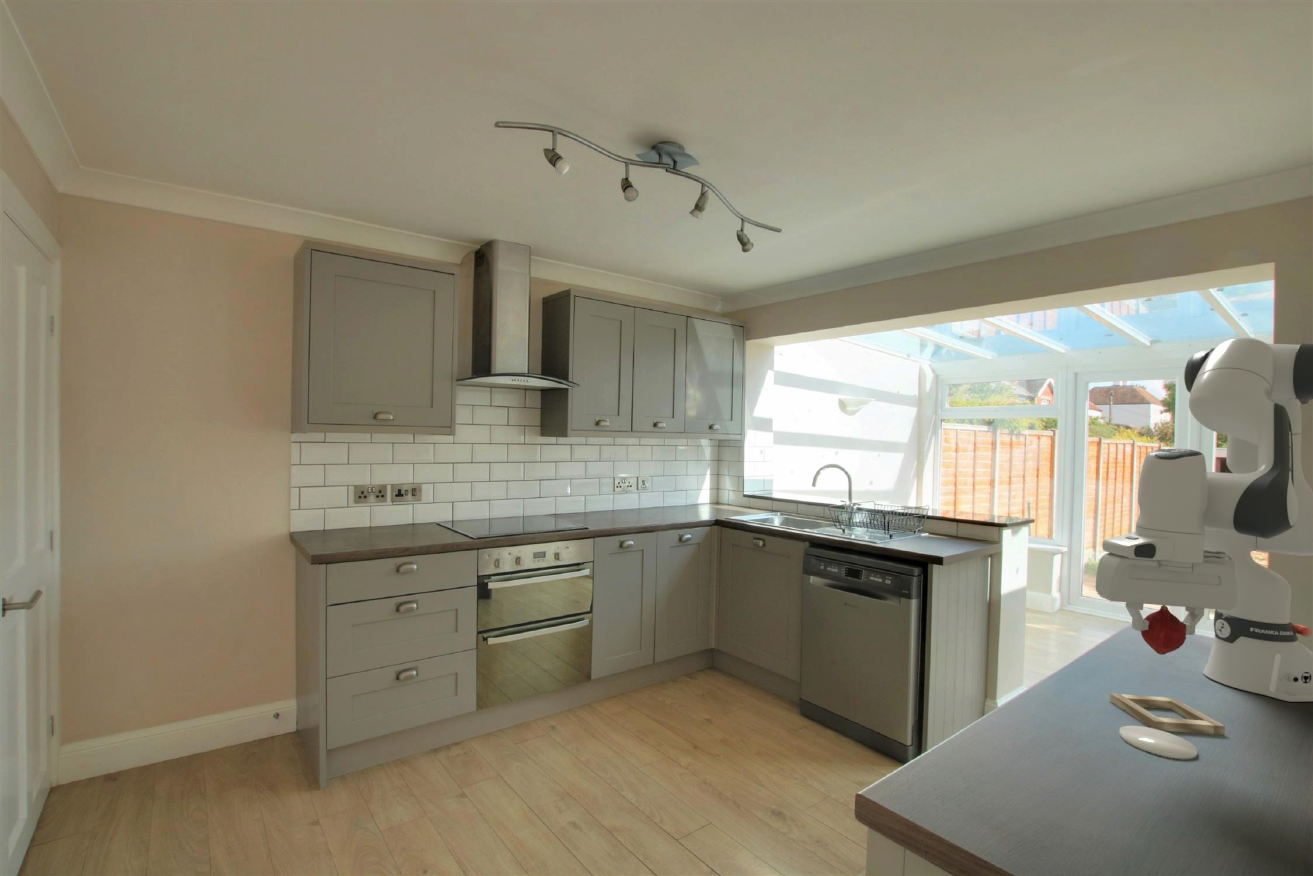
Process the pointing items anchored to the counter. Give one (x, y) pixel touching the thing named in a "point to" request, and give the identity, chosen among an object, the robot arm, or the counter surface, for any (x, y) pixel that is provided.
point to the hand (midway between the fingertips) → (1162, 632)
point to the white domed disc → (1158, 742)
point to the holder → (1192, 724)
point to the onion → (1164, 631)
